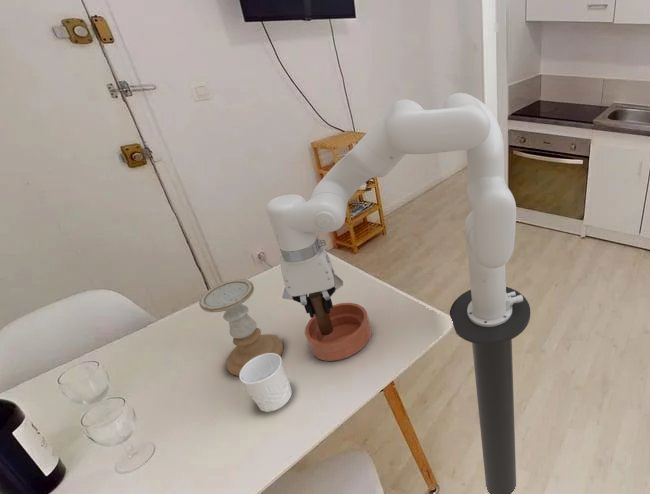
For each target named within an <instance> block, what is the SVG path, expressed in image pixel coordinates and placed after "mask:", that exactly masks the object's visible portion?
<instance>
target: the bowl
mask: <svg viewBox="0 0 650 494" xmlns="http://www.w3.org/2000/svg"><path fill="white" fill-rule="evenodd" d="M329 316H330V320H331V323H332V326H333V332H332V333H331V334H329V335H325V336H324V335H321V333H320V330H319V327H318V324H317V321H316V318H315V315H314V317H312V318H311V317H310V319H309V320H308V322H307V324H306V325H305V329H304V335H305V338H306V341H307V343H308V346H309V349H310V351H311V354H312V355H313V356H314V357H316V358H317V359H318V360H322V361H325V362H331V361H332V362H333V361H340V360H343V359H347V358H349V357H351V356H354V355H355V354H356V353H358V352H359V351H361V350H362V349H363V348H364V347H365V346H366V345H367V343H368V342H369V341H370V339H371V336H372V328H371V323H370V319H369V315H368V311H367V310H366V309H365V307H364V306H362V305H360V304H358V303H355V302H340V303H336V304H333V308H330V313H329Z"/></svg>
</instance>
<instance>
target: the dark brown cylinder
mask: <svg viewBox="0 0 650 494" xmlns="http://www.w3.org/2000/svg"><path fill="white" fill-rule="evenodd" d="M307 295H308V297H309V300H310V303H311V306H312V309H313V312H314V315H315V318H316V321H317V324H318V327H319V330H320V333H321V335H324V336H325V335H329V334H331V333H332V332H333V326H332V323H331V320H330V316H329V314H328V313H327V312H326V309H325V306H324V303H323V299H324V297H323V294H322V292H321V291H319V292H314V293H310V294H307Z"/></svg>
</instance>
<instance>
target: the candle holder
mask: <svg viewBox="0 0 650 494" xmlns="http://www.w3.org/2000/svg"><path fill="white" fill-rule="evenodd" d="M254 291H255V286H254V283H253V282H252V281H250V280H249V279H246V278H245V279H242V278H238V279H230V280H227V281H224V282H222V283H218V284H216V285H214V286H213V287H211V288H209V289H208V290H207V291H205V292H204V293H203V294H202V296H201V297H200V299H199V307H200V309H201V310H203V311H204V312H206V313H222V312H224V313H223V315H222V318H223V320H224V321H226V322H228V329H229V330H228V331H229V335H230V337H232V344H233V345H234V346H235V348H234V349H233V350H232V351H230V353H229V355H228V357H227V359H226V362H225V363H226V365H225V366H226V369H227V371H228V372H229V373H230V374H231V375H232V376H237V377H239V374H240V371H241V369H242V368H243V366H244V365H245V364H246V363H247V362H249V361H250V360H251V359H253V358H255V357H257V356H259V355H262V354H266V353H275V354H278V355H279V356H280V357H281V356H282V354H283V352H284V342H283V340H282V339H281V338H280V337H279V336H277V335H276V334H262V330H261V329H260V328H259V327H258V326H257V325H258V324H257V322H256V320H255V319H254V318H253V317H251V316H250V314H249V306H247V305H245V304H243V303H245V302H246V301H248V300H249V299H250V298H251V297H252V296H253V294H254Z"/></svg>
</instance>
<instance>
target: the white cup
mask: <svg viewBox="0 0 650 494" xmlns="http://www.w3.org/2000/svg"><path fill="white" fill-rule="evenodd" d="M238 377H239V380H240V382H241V383H242V385H243V386H244V388H245V390H246V391H247V393H248V394H249V396H250V398H251V399H252V401H253V402H254V403H255V404H256V405H257V407H258V409H259V410H260V411H262V412H265V413H268V412H269V413H270V412H274V411H277V410H279V409H281V408H283V407H284V406H285V405H287V403H288V402H289V400H290V399H291V397H292V392H293V391H292V390H293V388H292V387H291V384H290V380H289V376H288V372H287V370H286V367H285V365H284V362H283V359H282V357H281V356H279V355H278V354H275V353H266V354H262V355H259V356H257V357H255V358H253V359H251V360H250V361H249V362H247V363H246V364H245V365H244V366H243V368H242V369H241V371H240V374H239V376H238Z"/></svg>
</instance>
